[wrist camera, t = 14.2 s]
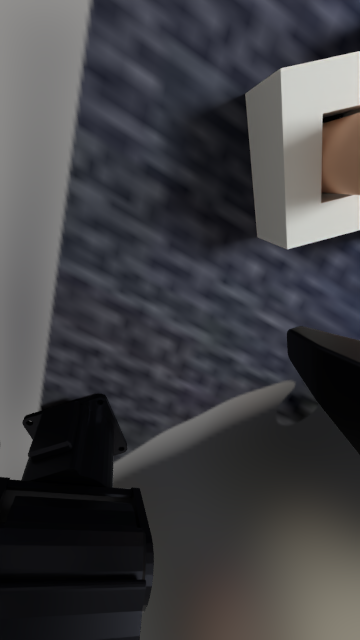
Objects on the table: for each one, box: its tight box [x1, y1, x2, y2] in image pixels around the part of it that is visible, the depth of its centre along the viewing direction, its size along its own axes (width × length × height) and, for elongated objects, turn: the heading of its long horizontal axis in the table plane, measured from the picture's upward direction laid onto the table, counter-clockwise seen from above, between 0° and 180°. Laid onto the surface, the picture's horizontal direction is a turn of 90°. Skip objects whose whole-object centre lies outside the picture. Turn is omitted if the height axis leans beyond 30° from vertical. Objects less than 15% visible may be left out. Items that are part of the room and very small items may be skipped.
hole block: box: [245, 51, 360, 249], centre depth 16 cm, size 8×8×4 cm
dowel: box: [321, 113, 360, 195], centre depth 15 cm, size 4×4×8 cm
